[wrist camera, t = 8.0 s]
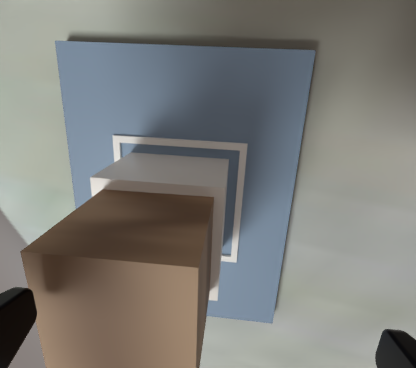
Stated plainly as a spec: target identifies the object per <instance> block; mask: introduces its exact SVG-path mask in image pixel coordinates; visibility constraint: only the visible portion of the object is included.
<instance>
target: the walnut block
mask: <svg viewBox="0 0 416 368" xmlns="http://www.w3.org/2000/svg"><path fill="white" fill-rule="evenodd" d="M213 206H214V197H206V196H192V195H177V194H163V193H148V192H134V191H120V190H105V189H102V190H101V191H100V192H98V193H97V194H96V195H94V196H93V197H92V198H90V199H89V200H88V201H86V202H85V203H84V204H82V205H81V206H80V207H78V208H77V209H76V210H75V211H73V212H72V213H71V214H69V215H68V216H67V217H65V218H64V219H63V220H61V221H60V222H59V223H57V224H56V225H55V226H53V227H52V228H51V229H49V230H48V231H47V232H46V233H44V234H43V235H42V236H40V237H39V238H38V239H36V240H35V241H34V242H32V243H31V244H30V245H28V246H27V247H26V248H24V249H23V250H22V251H21V257H22V261H23V266H24V270H25V275H26V279H27V283H28V288H29V289H31V290H32V291H33V295H34V299H35V304H36V308H37V317H36V324H37V329H38V333H39V337H40V342H41V347H42V351H43V356H44V360H45V365H46V368H199V366H200V359H201V351H202V344H203V337H204V330H205V322H206V315H207V308H208V301H209V293H210V275H211V252H212V229H213Z"/></svg>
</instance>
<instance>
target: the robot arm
mask: <svg viewBox="0 0 416 368" xmlns="http://www.w3.org/2000/svg"><path fill="white" fill-rule="evenodd" d="M36 317H37V308H36V304H35V299H34V295H33V291H32V290H31V289H29V288H22V287H15V288H12V289H10V290H7V291H5V292H3V293H1V294H0V368H8V367H9V365H10V363H11V361H12V360H13V358H14V356H15V355H16V353H17V351H18V350H19V347H20V346H21V345H22V343H23V341H24V340H25V338H26V336H27V334H28V333H29V331H30V329H31V328H32V326H33V324H34V323H35V320H36ZM375 359H376V365H377V368H416V340H415V339H414V338H413V337H411V336H410V335H409V334H407V333H406V332H404V331H401V330H392V329H385V330H384V331H383V332H382V335H381V338H380V341H379V345H378V348H377V351H376V356H375Z"/></svg>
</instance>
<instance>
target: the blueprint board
mask: <svg viewBox="0 0 416 368" xmlns="http://www.w3.org/2000/svg"><path fill="white" fill-rule="evenodd" d="M55 45H56V53H57V61H58V69H59V77H60V85H61V93H62V101H63V109H64V117H65V125H66V133H67V141H68V149H69V158H70V166H71V174H72V182H73V190H74V198H75V206H76V209H77V208H78V207H80V206H81V205H82V204H84V203H85V202H86V201H88V200H89V199H90V198H92V193H91V183H90V177H91V176H93V175H95V174H96V173H98V172H100V171H101V170H103V169H104V168H106V167H108V166H109V165H111V164H113V163H114V162H116V161H117V160H119V159H121V158H122V157H124V156H126V155H127V154H129V153H131V152H133V153H148V154H162V155H177V156H191V157H205V158H220V159H229V166H228V179H227V193H226V207H225V221H224V235H223V248H222V258H221V269H220V279H219V290H218V300H217V301H213V300H209V301H208V308H207V315H206V316H212V317H221V318H230V319H238V320H247V321H256V322H265V323H273V316H274V310H275V304H276V298H277V291H278V285H279V279H280V272H281V266H282V260H283V253H284V247H285V241H286V234H287V228H288V222H289V216H290V209H291V203H292V197H293V190H294V184H295V178H296V171H297V165H298V159H299V152H300V146H301V140H302V133H303V127H304V121H305V115H306V108H307V102H308V96H309V89H310V83H311V77H312V70H313V64H314V58H315V51H316V50H294V49H267V48H240V47H213V46H186V45H159V44H131V43H104V42H77V41H55Z"/></svg>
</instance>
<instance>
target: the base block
mask: <svg viewBox="0 0 416 368" xmlns="http://www.w3.org/2000/svg"><path fill="white" fill-rule="evenodd" d="M228 166H229V159H220V158H205V157H191V156H177V155H162V154H148V153H133V152H131V153H129V154H127V155H126V156H124V157H122V158H121V159H119V160H117V161H116V162H114V163H113V164H111V165H109V166H108V167H106V168H104V169H103V170H101V171H100V172H98V173H96V174H95V175H93V176H91V177H90V183H91V193H92V197H93V196H94V195H96V194H97V193H98V192H100V191H101V190H102V189H105V190H120V191H134V192H148V193H163V194H177V195H192V196H206V197H214V206H213V229H212V252H211V275H210V293H209V300H213V301H217V300H218V290H219V279H220V269H221V258H222V248H223V235H224V221H225V207H226V193H227V179H228Z"/></svg>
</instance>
